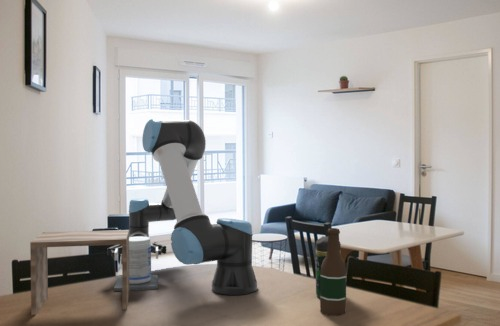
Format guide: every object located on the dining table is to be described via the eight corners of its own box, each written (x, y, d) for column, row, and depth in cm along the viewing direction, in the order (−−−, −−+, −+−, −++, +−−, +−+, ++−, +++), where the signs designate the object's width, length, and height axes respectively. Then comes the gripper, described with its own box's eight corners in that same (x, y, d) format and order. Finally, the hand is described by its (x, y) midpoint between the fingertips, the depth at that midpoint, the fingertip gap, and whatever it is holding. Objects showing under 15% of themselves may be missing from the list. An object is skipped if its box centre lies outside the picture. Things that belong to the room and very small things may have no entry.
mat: (157, 288, 162) (157, 285, 162) (114, 291, 159) (114, 288, 159) (157, 277, 176) (157, 274, 176) (117, 279, 173) (117, 276, 173)
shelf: (126, 309, 142) (126, 239, 141) (31, 315, 137) (30, 242, 136) (129, 292, 158) (129, 229, 157) (43, 297, 152) (42, 232, 152)
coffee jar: (315, 290, 161) (315, 234, 160) (339, 291, 160) (340, 235, 159) (315, 299, 151) (315, 240, 151) (341, 300, 150) (341, 240, 150)
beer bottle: (340, 318, 135) (341, 232, 134) (314, 313, 139) (315, 229, 138) (350, 310, 141) (351, 228, 141) (325, 305, 146) (326, 225, 145)
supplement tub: (155, 282, 166) (155, 239, 166) (128, 286, 161) (128, 242, 161) (144, 275, 174) (144, 234, 174) (118, 279, 169) (118, 237, 169)
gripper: (171, 251, 188) (174, 265, 167) (104, 254, 183) (97, 268, 162) (171, 232, 187) (173, 243, 166) (104, 234, 182) (97, 246, 162)
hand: (136, 255), depth 164 cm, fingers open, 13 cm apart
